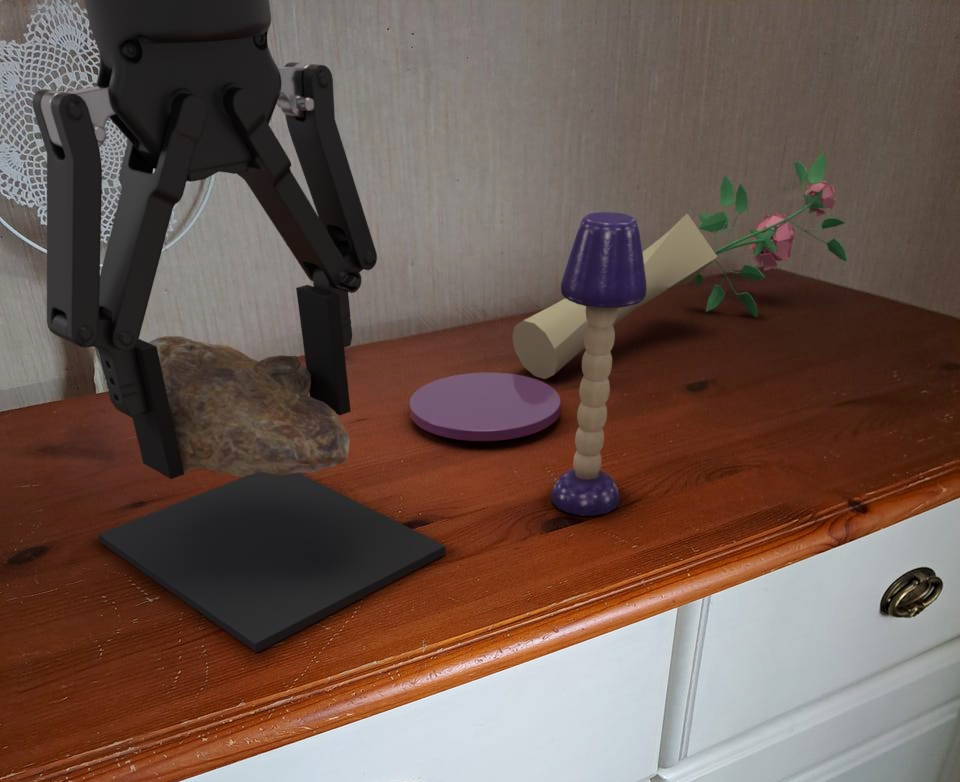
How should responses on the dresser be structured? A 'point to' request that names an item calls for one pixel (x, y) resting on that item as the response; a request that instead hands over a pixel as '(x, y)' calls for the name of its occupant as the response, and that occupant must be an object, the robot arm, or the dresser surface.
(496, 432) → the saucer
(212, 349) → the brown rock
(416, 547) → the place mat
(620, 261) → the toy lamp
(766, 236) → the flower vase
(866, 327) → the dresser surface
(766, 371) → the dresser surface
